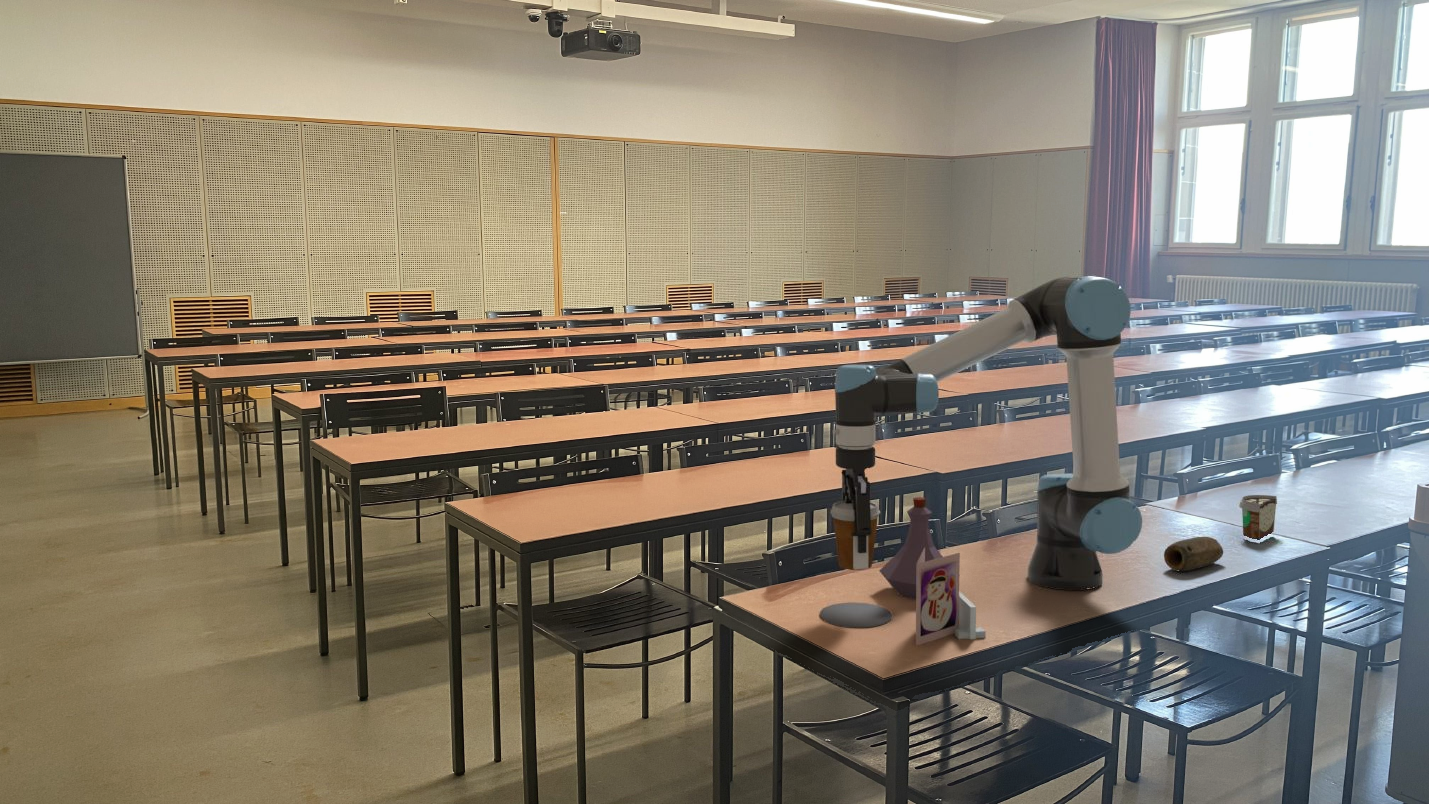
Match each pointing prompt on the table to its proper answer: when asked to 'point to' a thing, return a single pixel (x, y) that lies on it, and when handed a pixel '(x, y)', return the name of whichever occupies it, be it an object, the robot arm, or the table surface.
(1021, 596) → the table surface
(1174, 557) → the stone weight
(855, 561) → the robot arm
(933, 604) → the greeting card
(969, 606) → the divider
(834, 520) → the disposable coffee cup
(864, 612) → the mat
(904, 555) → the flask
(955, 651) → the table surface
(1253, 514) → the food container
